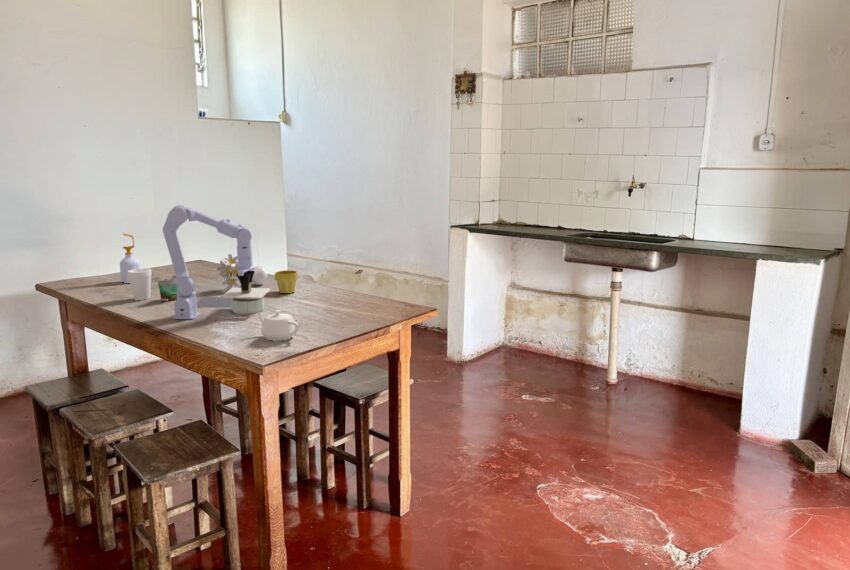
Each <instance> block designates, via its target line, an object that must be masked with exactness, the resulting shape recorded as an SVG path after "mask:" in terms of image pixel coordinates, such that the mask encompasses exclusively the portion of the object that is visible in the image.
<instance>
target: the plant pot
mask: <svg viewBox="0 0 850 570" xmlns="http://www.w3.org/2000/svg"><path fill="white" fill-rule="evenodd" d="M274 280H275V281H276V283H277V286H278V287H277V288H278V290H279V293H280V294H281V293H292V292H294V293H295V290H296V284H297V280H298V271H296V270H292V269H291V270H287V269H286V270H279V271H275V272H274ZM292 294H293V293H292Z"/></svg>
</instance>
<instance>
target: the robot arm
mask: <svg viewBox="0 0 850 570" xmlns="http://www.w3.org/2000/svg"><path fill="white" fill-rule="evenodd" d="M187 221H188V222H195V221H197V222H200V223H201V224H202V223H203V224H205V225H208V226H211V227H212V228H215V229H216V230H217V232H218V233H220V234H221V235H224V236H226V237H229V238H232V239H236V244H237V245H236V255H237V258H238V259H237V262H238V274H237V277H236V278H237V279H238V281H239V284H240V288H241V287H242V290H243V291H248V289H249V282H251V285H252V284H253V282H252V278H253V275H254V273H255V271H251V270H255V269H256V267H257V266H253V253H252V252H253V251H252V250H253V249H252V241H251V240H252V233H251V231H250V229H248V228H247V227H245V226H242V224H240V223H239V224H237V223H234V222H232V221H231V219H229V218H226V219H225V218H224V219H223V218H222V219H220V220H219V219H216V218H214V217H212V216H210V215H208V214H205V213H204V212H201V211H199V210H197V209H194V208H190V207H185V206H184V205H180V204H179V205H175V206H174V207H172V208H171V210H169V212H168V214H167V216H166V219H165V222H164V225H163V227H162V233H163V237H164V239H165V243H166V246H167V250H168V253H169V256H170V260H171V264H172V266H173V269H174V272H175V276H176V278H177V291H178V293H177V300H175V301H174V304H173V305H174V317H173V320H194V319H195V318H197V317H198V316H199V315H200V314H201V313H202V312H201V311H198V307H197V302H198V301H197V295H196V294H197V292H196V291H194V289H195V286H194V285H195V281H194V279H193V278H192V277H191V276H190V273H189V271H188V268H187V264H186V261H185V258H184V254H183V251H182V248H181V247H182V246H181V244H180V240H179V238H178V234H177V231H178V229H179V228H180V226H182V225H183V224H184V223H185V222H187Z"/></svg>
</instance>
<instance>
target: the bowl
mask: <svg viewBox="0 0 850 570" xmlns="http://www.w3.org/2000/svg"><path fill="white" fill-rule="evenodd" d="M230 300H231V308H230V311H232V313H234V314H238V315H250V314H258V313H262V312H263V311H264V309H265V306H266V305H265V296H263V297H262V298H261V299H245V298H231V299H230Z"/></svg>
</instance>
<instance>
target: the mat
mask: <svg viewBox="0 0 850 570" xmlns="http://www.w3.org/2000/svg"><path fill="white" fill-rule="evenodd" d="M230 299H231V298H221V296H218V297H217V296H215V297H213V296H204V297H202V298H200V299H199V300H198V301H196V302H197V308H209V309H210V308H216V309H217V308H218V309H219V308H221V309H223V308H224V309H225V308H226V309H227V308H229V309H231V300H230Z"/></svg>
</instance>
